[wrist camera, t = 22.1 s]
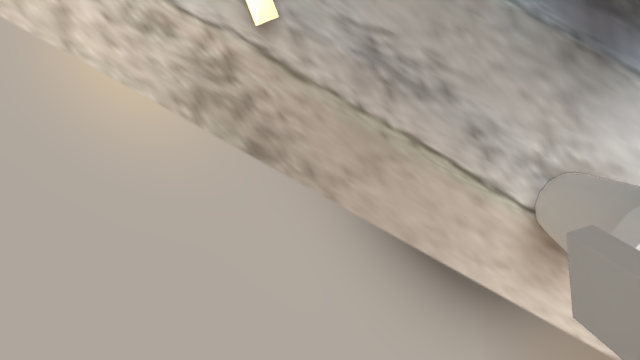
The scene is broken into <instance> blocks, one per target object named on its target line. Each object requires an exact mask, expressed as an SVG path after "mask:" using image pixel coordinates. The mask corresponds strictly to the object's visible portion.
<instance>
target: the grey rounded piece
mask: <svg viewBox="0 0 640 360" xmlns="http://www.w3.org/2000/svg"><path fill="white" fill-rule="evenodd" d="M535 213H536V220H537V222H538V223H539V224H540V225H541V227H542V228H543V229H544V230H545V231H546V232H547V234H548V235H549V236H551V237H552V238H553V239H554V240H555V241H556V242H557V243H558V244H559V245H560V246H561V247H562V248H563V249H564V250H565V251H566V252H567V253H568V250H567V238H566V233H567V232H571V231H574V230H577V229H580V228H583V227H586V226H590V225H594V226H596V227H597V228H599V229H601V230H603V231H605V232H606V233H608V234H610V235H612V236H614V237H616V238H617V239H619V240H621V241H623V242H625V243H627V244H628V245H630V246H632V247H634V248H636V249H637V250H639V251H640V187H639V186H635V185H630V184H626V183H622V182H617V181H613V180H609V179H605V178H600V177H596V176H592V175H587V174H583V173H577V172H572V173H563V174H560V175H559V176H557V177H555V178H554V179H552V180H550V181H549V182H548V183H547V184H546V185H545V187H544V188H543V189H542V190H541V192H540V193H539V195H538V199H537V202H536V205H535Z"/></svg>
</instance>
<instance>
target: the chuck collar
mask: <svg viewBox="0 0 640 360" xmlns="http://www.w3.org/2000/svg"><path fill="white" fill-rule="evenodd" d="M245 2H246V4H247V7H248V10H249V12H250V15H251V17H252V20H253V22H254V25H255V26H257V25H259V24H262V23H264V22H267V21H269V20H272V19H275V18H277V17H279V16H278V13H277V10H276V8H275V5H274V2H273V0H245Z"/></svg>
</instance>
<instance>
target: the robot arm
mask: <svg viewBox="0 0 640 360" xmlns="http://www.w3.org/2000/svg"><path fill="white" fill-rule="evenodd" d="M566 238H567V250H568V262H569V274H570V287H571V299H572V311H573V318H574V319H576V320H577V321H578V322H579V323H580V324H582V325H583V326H584V327H585V328H586V329H587V330H589V331H590V332H591V333H592V334H593V335H594V336H596V337H597V338H598V339H599V340H600V341H601V342H603V343H604V344H605V345H606V346H607V347H608V348H610V349H611V350H612V351H613V352H614V353H615V354H617V355H618V356H619V357H620V358H621V359H622V360H640V251H639V250H637V249H636V248H634V247H632V246H630V245H628V244H627V243H625V242H623V241H621V240H619V239H617V238H616V237H614V236H612V235H610V234H608V233H606V232H605V231H603V230H601V229H599V228H597V227H596V226H594V225H590V226H586V227H583V228H580V229H577V230H574V231H571V232H567V233H566Z"/></svg>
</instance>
